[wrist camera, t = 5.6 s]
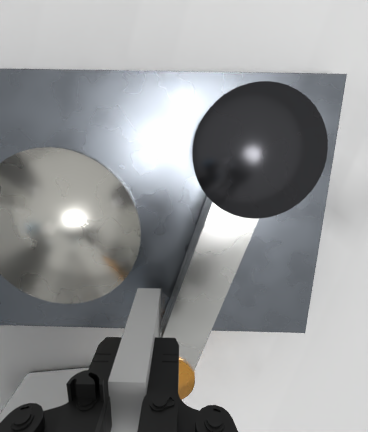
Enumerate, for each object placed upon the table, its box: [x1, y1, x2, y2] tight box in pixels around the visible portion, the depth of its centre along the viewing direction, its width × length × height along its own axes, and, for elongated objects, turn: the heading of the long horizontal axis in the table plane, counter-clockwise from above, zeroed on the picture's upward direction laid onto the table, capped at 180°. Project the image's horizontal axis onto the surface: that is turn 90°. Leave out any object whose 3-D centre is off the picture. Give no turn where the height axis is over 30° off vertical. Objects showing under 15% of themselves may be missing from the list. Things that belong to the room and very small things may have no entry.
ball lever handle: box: [160, 81, 328, 399], centre depth 16 cm, size 18×6×3 cm, turn 162°
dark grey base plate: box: [0, 69, 347, 333], centre depth 18 cm, size 26×16×2 cm, turn 89°
